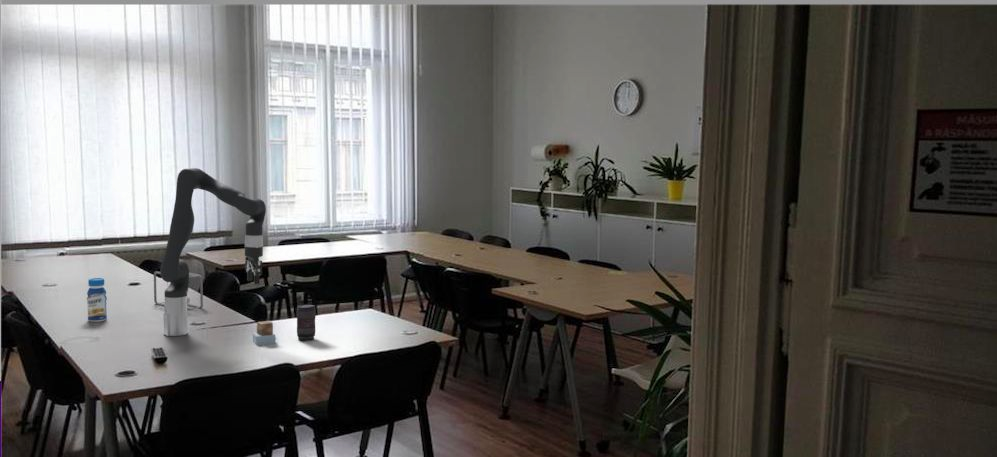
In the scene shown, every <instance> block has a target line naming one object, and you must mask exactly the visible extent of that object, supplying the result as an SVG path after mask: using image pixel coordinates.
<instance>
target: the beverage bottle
mask: <svg viewBox="0 0 997 457" xmlns="http://www.w3.org/2000/svg"><path fill="white" fill-rule="evenodd" d="M87 283H88V287H89V288H88V290H87V292H86V295H87V297H86V301H87V302H86V303H87V321H88V322H90V323H92V322H93V323H96V322H97V323H99V322H104V321H107V319H108V314H107V313H108V312H107V301H108V297H107V291H106V289H105V288H104V286H105V278H104V277H94V278H89V279H88V281H87Z"/></svg>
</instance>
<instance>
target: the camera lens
mask: <svg viewBox="0 0 997 457" xmlns="http://www.w3.org/2000/svg"><path fill="white" fill-rule="evenodd" d="M316 309H317V308H316V305H313V304H300V305H297V307H296V336H297V339H298V341H299V342H310V341H311V342H312V341H313V340H314V339H315V336H316V316H317V314H316Z"/></svg>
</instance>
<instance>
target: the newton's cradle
mask: <svg viewBox="0 0 997 457" xmlns="http://www.w3.org/2000/svg"><path fill="white" fill-rule="evenodd" d="M157 275H161V274H160V271H154V273H153V297H154V298H153V300H154V304H155V305H158V306H160V307H165V301H162V302H158V301H157V300H158V298H157ZM195 277H198V278H199V284H200V287H199V292H200V294H199V295H200V297H199V299H200V305H195V304H191V299H190V297H188V296H187V307H191V308H187V311H188V310H189V311H190V310H194V309H195V310H196V309H202V308H203V305H204V298H203V297H204V294H203V293H204V291H203V289H204V288H203V284H204V282H203V281H204V280H203V276H202V275H201V274H197V273H194V272H189V281H190V279H191V278H195ZM166 283H167V285H169V284H170V283H171V282H166ZM168 283H169V284H168ZM188 293H189V290H188V291H187V294H188Z"/></svg>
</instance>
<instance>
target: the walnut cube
mask: <svg viewBox="0 0 997 457" xmlns="http://www.w3.org/2000/svg"><path fill="white" fill-rule="evenodd" d="M256 332H257V334H259V335H261V336H263V335H271V334H273V333H274V325H273V322H271V321H270V320H264V321H257V322H256Z"/></svg>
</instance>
